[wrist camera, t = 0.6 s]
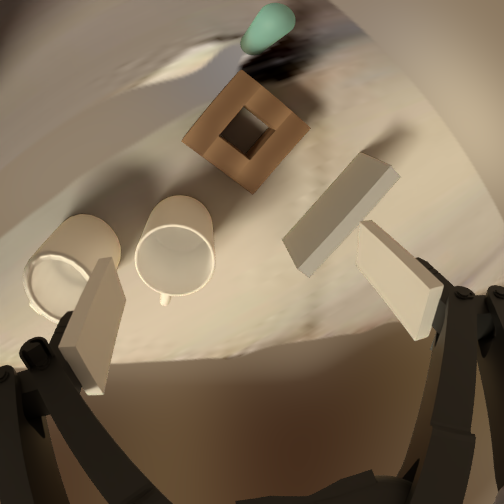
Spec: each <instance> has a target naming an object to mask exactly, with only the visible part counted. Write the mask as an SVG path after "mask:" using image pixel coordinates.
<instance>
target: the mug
mask: <svg viewBox="0 0 504 504" xmlns="http://www.w3.org/2000/svg"><path fill="white" fill-rule="evenodd" d="M106 257H112V258H113V261H114V265H115V268H116V269H117V267H118V264H119V261H120V258H121V246H120V243H119V240H118V237H117V235H116V234H115V232H114V231H113V229H112V228H111V227H110V226H109V225H108V224H107V223H105V222H104V221H103V220H102V219H100V218H97V217H95V216H92V215H86V214H79V215H75V216H71V217H69V218H68V219H67V220H65V221H64V222H63V223H62V224H61V225H60V226H59V227H58V228H57V229H56V230H55V231H54V232H53V233H52V234H51V235H50V237H49V238H48V239H47V240H46V241H45V242H44V243H43V244H42V245H41V247H40V248H39V249H38V250H37V251H36V252H35V253H34V255H33V256H32V257H31V258H30V259H29V261H28V263H27V265H26V267H25V268H24V275H23V283H24V288H25V292H26V294H27V296H28V298H29V300H30V304H29V305H30V306H31V307H32V308H33V309H34V310H35V311H36V312H37V313H38V314H39V315H40V314H42V315H43V316H44V317H46V318H47V319H48V320H50V321H52V322H54V323H57V324H58V323H59V321H60V319H61V318H62V316H63V315H64V314H65V313H66V312H67V311H74V309H75V307H76V305H77V302H78V300H79V298H80V296H81V294H82V292H83V290H84V288H85V285H86V283H87V281H88V279H89V277H90V275H91V273H92V271H93V269H94V267H95V265H96V263H97V261H98V259H100V258H106Z"/></svg>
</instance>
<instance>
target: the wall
mask: <svg viewBox="0 0 504 504" xmlns="http://www.w3.org/2000/svg"><path fill="white" fill-rule="evenodd" d="M399 178H400V176H399V174H398V173H397V172H396V171H395V170H394V168H393V167H392V166H391V165H389V164H387V163H385V162H382V161H380V160H378V159H376V158H373V157H371V156H369V155H366V154H364V153H362V152H360V153H359V154H358V155H357V156H356V157H355V158H354V160H353V161H352V162H351V163H350V164H349V165H348V166H347V168H346V169H345V170H344V171H343V172H342V173H341V174H340V175H339V177H338V178H337V179H336V180H335V181H334V182H333V183H332V184H331V186H330V187H329V188H328V189H327V190H326V191H325V192H324V193H323V195H322V196H321V197H320V198H319V199H318V200H317V201H316V202H315V204H314V205H313V206H312V207H311V208H310V209H309V210H308V211H307V213H306V214H305V215H304V216H303V217H302V218H301V219H300V220H299V221H298V223H297V224H296V225H295V226H294V227H293V228H292V229H291V230H290V231H289V233H288V234H287V235H286V236H285V237H284V238H283V239H282V241H283V243H284V244H285V246H286V248H287V250H288V252H289V254H290V256H291V258H292V260H293V262H294V264H295V266H296V267H297V269H298V270H299V271H301V272H302V273H303V274H305V275H306V276H307V277H310V276H311V275H312V274H313V273H314V272H315V271H316V270H317V269H318V268H319V267H320V266H321V265H322V264H323V263H324V262H325V261H326V260H327V259H328V257H329V256H330V255H331V254H332V253H333V252H334V251H335V250H336V249H337V248H338V247H339V246H340V245H341V244H342V242H343V241H344V240H345V239H346V238H347V237H348V236H349V235H350V234H351V233H352V232H353V230H354V229H355V228H356V227H357V226H358V225H359V222H360V221H363V219H364V218H365V217H366V216H367V215H368V214H369V213H370V212H371V210H372V209H373V208H374V207H375V206H376V205H377V204H378V203H379V201H380V200H381V199H382V198H383V197H384V196H385V195H386V193H387V192H388V191H389V190H390V189H391V188H392V187H393V185H394V184H395V183H396V182H397V181H398V180H399Z"/></svg>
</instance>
